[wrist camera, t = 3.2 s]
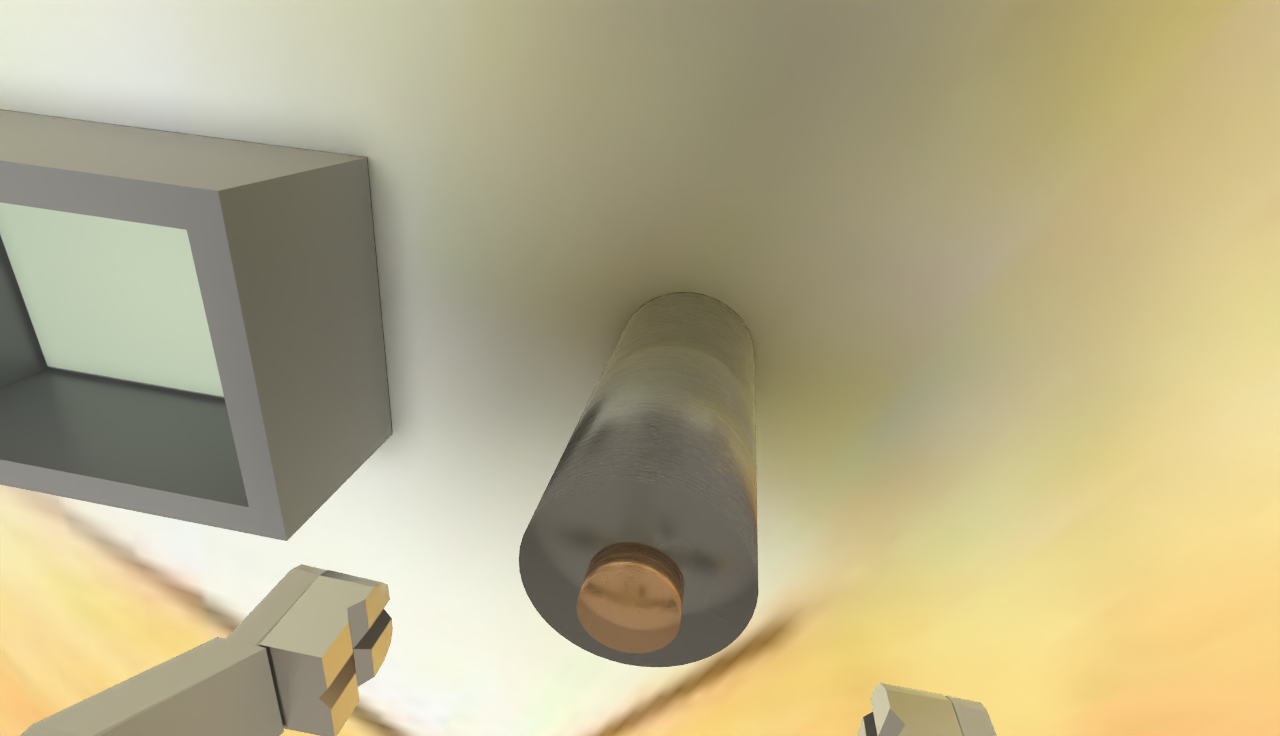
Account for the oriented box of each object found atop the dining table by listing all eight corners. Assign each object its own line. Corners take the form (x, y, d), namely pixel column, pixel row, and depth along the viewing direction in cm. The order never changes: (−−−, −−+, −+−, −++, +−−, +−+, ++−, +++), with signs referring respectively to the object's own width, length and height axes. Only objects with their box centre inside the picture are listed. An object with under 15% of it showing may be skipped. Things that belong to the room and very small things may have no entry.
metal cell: (624, 282, 20) (503, 489, 10) (766, 303, 19) (783, 539, 9) (614, 404, 21) (503, 675, 12) (741, 426, 21) (734, 725, 11)
